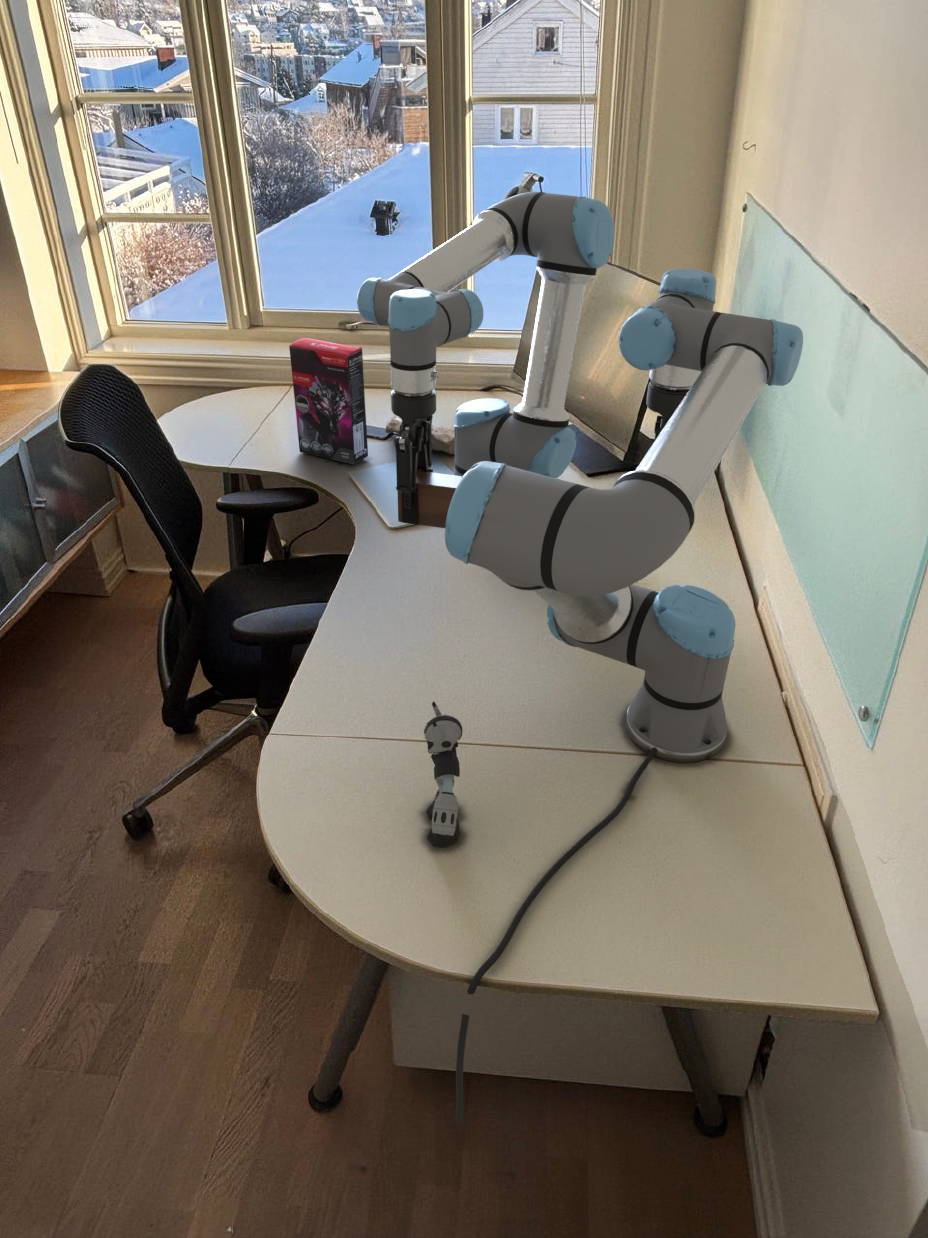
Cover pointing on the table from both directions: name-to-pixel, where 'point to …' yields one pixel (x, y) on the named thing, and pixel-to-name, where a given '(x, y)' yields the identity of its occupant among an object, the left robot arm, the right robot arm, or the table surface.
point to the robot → (443, 777)
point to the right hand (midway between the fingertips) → (656, 512)
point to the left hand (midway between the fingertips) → (415, 515)
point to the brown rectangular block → (432, 497)
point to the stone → (440, 435)
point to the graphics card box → (329, 399)
